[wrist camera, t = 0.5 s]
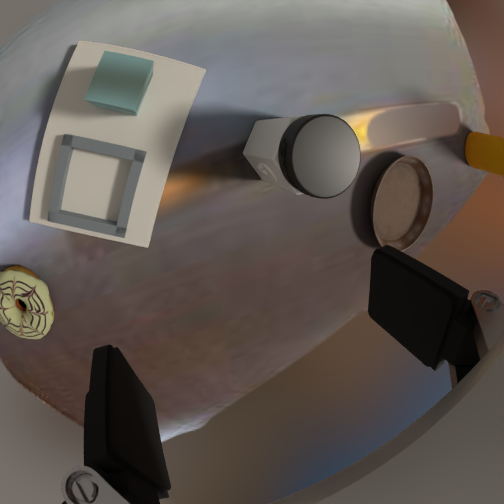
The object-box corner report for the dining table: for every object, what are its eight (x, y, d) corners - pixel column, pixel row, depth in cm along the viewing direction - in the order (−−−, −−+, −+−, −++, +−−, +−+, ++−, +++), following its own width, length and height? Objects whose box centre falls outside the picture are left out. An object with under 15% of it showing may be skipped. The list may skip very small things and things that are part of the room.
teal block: (112, 65, 23) (104, 50, 17) (152, 75, 25) (153, 60, 20) (96, 106, 24) (84, 99, 19) (137, 115, 26) (133, 110, 21)
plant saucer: (428, 159, 45) (439, 161, 42) (414, 242, 52) (425, 247, 49) (367, 147, 39) (380, 149, 37) (354, 251, 46) (365, 258, 44)
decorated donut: (54, 267, 30) (46, 280, 27) (60, 331, 33) (55, 348, 30) (-6, 258, 26) (-17, 270, 23) (5, 321, 29) (-3, 336, 26)
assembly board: (82, 44, 21) (76, 36, 18) (204, 72, 28) (209, 66, 25) (33, 218, 27) (24, 225, 24) (148, 243, 34) (148, 252, 31)
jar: (229, 140, 32) (269, 142, 22) (279, 104, 32) (335, 95, 22) (270, 194, 37) (319, 219, 26) (313, 157, 37) (373, 170, 26)
